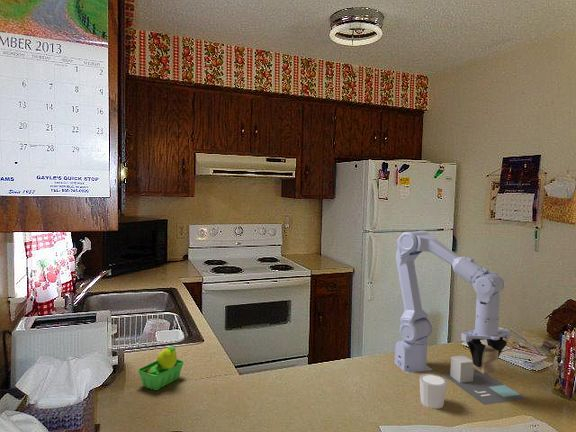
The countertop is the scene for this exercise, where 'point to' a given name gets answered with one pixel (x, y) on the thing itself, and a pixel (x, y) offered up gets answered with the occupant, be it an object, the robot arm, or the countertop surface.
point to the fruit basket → (161, 370)
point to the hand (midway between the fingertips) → (484, 364)
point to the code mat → (487, 389)
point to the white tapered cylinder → (432, 390)
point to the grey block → (461, 369)
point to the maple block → (488, 360)
